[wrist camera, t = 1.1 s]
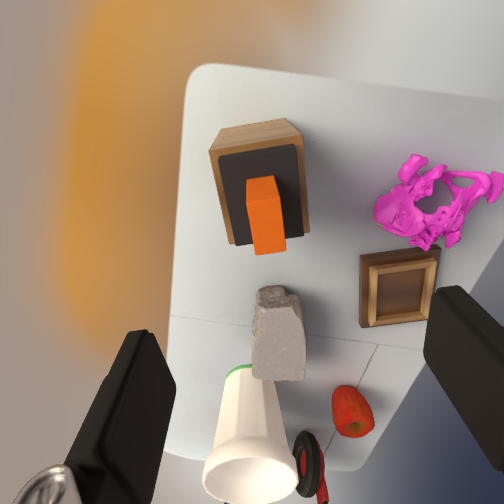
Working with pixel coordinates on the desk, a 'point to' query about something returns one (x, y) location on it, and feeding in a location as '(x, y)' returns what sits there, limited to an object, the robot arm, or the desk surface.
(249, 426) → the cup
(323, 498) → the headphones
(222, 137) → the wooden block
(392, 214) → the pelvis
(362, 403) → the apple
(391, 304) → the backing board
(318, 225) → the desk surface
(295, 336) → the decorative stone
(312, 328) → the desk surface
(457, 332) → the robot arm
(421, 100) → the desk surface
